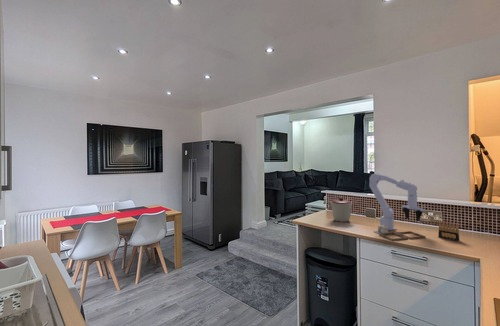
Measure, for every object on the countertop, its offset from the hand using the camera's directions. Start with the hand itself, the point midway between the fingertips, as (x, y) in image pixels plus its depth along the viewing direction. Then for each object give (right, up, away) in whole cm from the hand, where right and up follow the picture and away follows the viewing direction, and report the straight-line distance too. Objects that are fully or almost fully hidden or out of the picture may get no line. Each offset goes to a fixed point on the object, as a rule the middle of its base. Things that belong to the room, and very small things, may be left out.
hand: (412, 219), depth 174 cm
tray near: (-21, -10, -11) cm, 26 cm away
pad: (-22, -10, -1) cm, 24 cm away
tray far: (-7, -10, -9) cm, 15 cm away
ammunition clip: (+13, -10, -16) cm, 23 cm away
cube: (-22, -9, -1) cm, 24 cm away
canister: (-38, -10, +36) cm, 54 cm away
